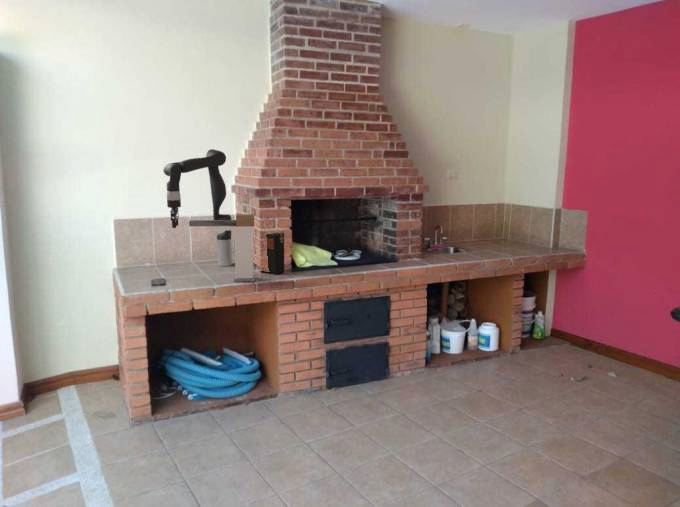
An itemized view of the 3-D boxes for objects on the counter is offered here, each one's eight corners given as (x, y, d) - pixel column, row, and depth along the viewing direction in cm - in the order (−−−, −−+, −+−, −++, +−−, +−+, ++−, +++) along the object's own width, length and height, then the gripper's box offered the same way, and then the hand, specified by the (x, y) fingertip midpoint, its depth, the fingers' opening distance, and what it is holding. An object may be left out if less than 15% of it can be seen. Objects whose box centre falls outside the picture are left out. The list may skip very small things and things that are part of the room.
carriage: (190, 225, 309) (189, 214, 308) (254, 224, 314) (254, 214, 313) (188, 226, 302) (188, 216, 301) (254, 226, 308) (253, 215, 306)
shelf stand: (213, 278, 319) (212, 224, 312) (255, 277, 322) (254, 224, 316) (212, 282, 309) (210, 227, 303) (255, 281, 312) (254, 226, 306)
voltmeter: (286, 272, 336) (285, 232, 331) (277, 275, 329) (277, 234, 324) (266, 269, 344) (265, 230, 339) (257, 272, 336) (256, 232, 331)
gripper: (169, 197, 319) (170, 225, 322) (165, 200, 305) (166, 228, 309) (182, 197, 320) (183, 224, 324) (178, 200, 307) (180, 228, 310)
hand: (175, 226), depth 316 cm, fingers open, 8 cm apart
